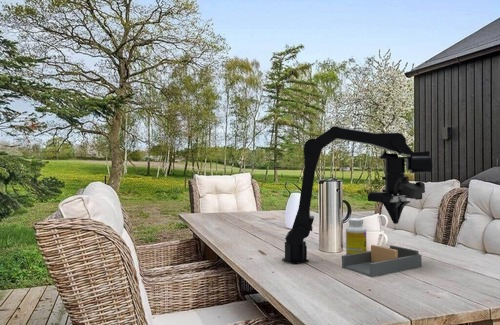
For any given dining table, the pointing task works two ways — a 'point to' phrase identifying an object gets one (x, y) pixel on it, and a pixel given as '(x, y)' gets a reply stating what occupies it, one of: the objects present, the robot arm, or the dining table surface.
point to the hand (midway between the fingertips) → (395, 223)
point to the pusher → (382, 253)
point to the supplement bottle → (355, 237)
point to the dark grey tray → (382, 262)
